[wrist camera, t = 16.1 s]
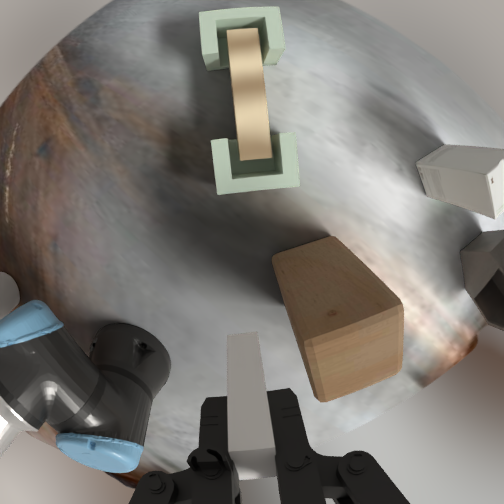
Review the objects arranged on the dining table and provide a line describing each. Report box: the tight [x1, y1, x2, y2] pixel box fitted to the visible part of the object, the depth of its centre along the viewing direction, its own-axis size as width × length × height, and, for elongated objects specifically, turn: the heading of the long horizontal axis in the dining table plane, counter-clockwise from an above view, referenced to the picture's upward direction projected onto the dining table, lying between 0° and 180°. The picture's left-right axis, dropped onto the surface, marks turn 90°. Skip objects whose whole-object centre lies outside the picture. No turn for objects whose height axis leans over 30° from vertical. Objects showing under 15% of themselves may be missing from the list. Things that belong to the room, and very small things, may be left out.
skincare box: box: [416, 144, 504, 219], centre depth 30 cm, size 8×7×16 cm
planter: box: [460, 230, 504, 331], centre depth 36 cm, size 17×8×21 cm
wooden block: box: [272, 236, 404, 402], centre depth 33 cm, size 10×10×20 cm
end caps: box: [199, 7, 300, 195], centre depth 30 cm, size 22×9×7 cm, turn 6°
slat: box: [227, 28, 272, 161], centre depth 29 cm, size 16×4×5 cm, turn 6°
